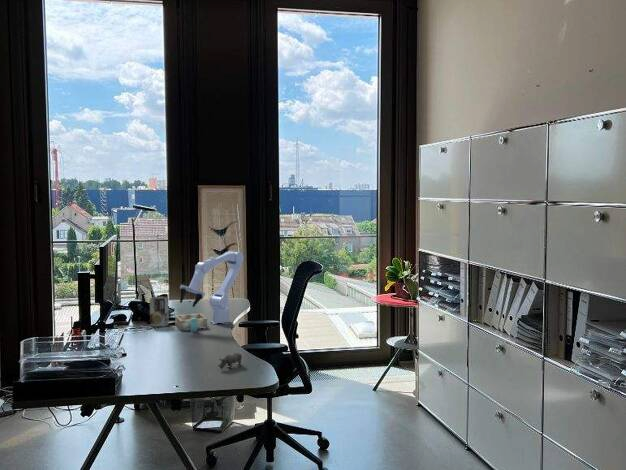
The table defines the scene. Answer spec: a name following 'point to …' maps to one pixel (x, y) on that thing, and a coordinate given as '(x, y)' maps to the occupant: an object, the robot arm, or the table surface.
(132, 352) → the table surface
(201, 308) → the table surface
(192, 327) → the peg
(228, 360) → the rhino figurine
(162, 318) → the coffee box
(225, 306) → the robot arm
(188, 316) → the box
